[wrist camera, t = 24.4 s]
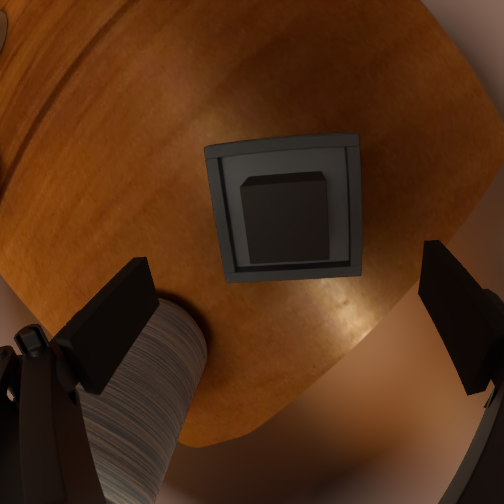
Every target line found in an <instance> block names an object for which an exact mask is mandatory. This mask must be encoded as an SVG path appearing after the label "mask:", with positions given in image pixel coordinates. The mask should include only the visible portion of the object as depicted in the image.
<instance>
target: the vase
mask: <svg viewBox="0 0 504 504" xmlns="http://www.w3.org/2000/svg"><path fill="white" fill-rule="evenodd" d="M158 299H159V302H160V305H159V307H158V308H157V309H156V311H155V312H154V314H153V315H152V317H151V318H150V320H149V321H148V323H147V324H146V326H145V327H144V329H143V330H142V332H141V333H140V335H139V336H138V338H137V339H136V341H135V342H134V344H133V345H132V347H131V348H130V350H129V351H128V353H127V354H126V356H125V357H124V359H123V360H122V362H121V364H120V365H119V367H118V368H117V370H116V371H115V373H114V374H113V376H112V378H111V379H110V381H109V382H108V384H107V385H106V387H105V389H104V390H103V392H102V393H101V395H100V396H99V395H95V394H91V393H87V392H85V390H84V389H83V387H82V386H81V384H80V382H79V383H78V384H77V386H76V387H75V388H76V389H77V391H78V393H79V397H80V403H81V408H82V414H83V418H84V423H85V428H86V432H87V437H88V441H89V445H90V449H91V453H92V457H93V460H94V464H95V468H96V471H97V474H98V478H99V481H100V484H101V487H102V490H103V493H104V496H105V499H106V502H107V504H154V503H155V501H156V498H157V495H158V493H159V490H160V487H161V484H162V482H163V479H164V476H165V473H166V471H167V467H168V465H169V462H170V460H171V457H172V454H173V451H174V449H175V446H176V443H177V440H178V438H179V435H180V432H181V430H182V427H183V424H184V421H185V419H186V416H187V413H188V410H189V408H190V405H191V402H192V400H193V397H194V394H195V391H196V389H197V386H198V383H199V381H200V378H201V375H202V372H203V370H204V367H205V364H206V360H207V345H206V341H205V338H204V336H203V333H202V331H201V329H200V328H199V326H198V325H197V323H196V322H195V320H194V319H193V317H192V316H191V315H190V314H189V313H188V312H187V311H186V310H185V309H184V308H182V307H181V306H179V305H178V304H176V303H174V302H172V301H169V300H166V299H162V298H158Z"/></svg>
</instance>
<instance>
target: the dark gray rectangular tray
mask: <svg viewBox="0 0 504 504" xmlns="http://www.w3.org/2000/svg"><path fill="white" fill-rule="evenodd" d="M204 153H205V159H206V167H207V173H208V180H209V186H210V192H211V198H212V204H213V211H214V217H215V223H216V228H217V234H218V240H219V246H220V252H221V257H222V263H223V268H224V274H225V280H226V283H234V282H259V281H281V280H300V279H319V278H336V277H352V276H361V272H362V266H361V265H362V186H361V164H360V147H359V135H358V134H357V133H353V132H349V133H325V134H308V135H295V136H283V137H272V138H262V139H253V140H244V141H236V142H229V143H221V144H214V145H209V146H206V147H204ZM312 171H322V173H323V175H324V177H325V179H326V185H327V202H328V221H329V248H330V259H329V260H318V261H300V262H282V263H264V264H250V259H249V251H248V244H247V237H246V230H245V223H244V215H243V208H242V201H241V194H240V186H241V185H242V184H243V183H244V181H245V180H246V179H247V178H248V177H251V176H261V175H272V174H284V173H297V172H312Z"/></svg>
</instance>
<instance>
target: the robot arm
mask: <svg viewBox="0 0 504 504" xmlns="http://www.w3.org/2000/svg"><path fill="white" fill-rule="evenodd" d="M418 294H419V296H420V298H421V300H422V302H423V303H424V305H425V307H426V309H427V311H428V313H429V315H430V317H431V318H432V320H433V322H434V324H435V326H436V328H437V330H438V332H439V334H440V336H441V338H442V340H443V342H444V344H445V346H446V349H447V351H448V353H449V355H450V357H451V359H452V361H453V363H454V366H455V368H456V370H457V372H458V375H459V377H460V379H461V382H462V384H463V386H464V388H465V391H466V393H467V395H472V394H475V393H479V392H483V391H485V390H486V388H487V386H488V384H489V382H490V380H492V381H493V383H494V386H495V388H494V389H493V391H492V393H491V395H490V397H489V399H488V401H487V403H486V404H485V406H484V408H486V409H485V412H484V415H483V417H482V420H481V422H480V425H479V427H478V429H477V431H476V434H475V436H474V438H473V440H472V442H471V445H470V447H469V449H468V451H467V453H466V455H465V457H464V459H463V461H462V463H461V465H460V467H459V469H458V470H457V472H456V474H455V476H454V478H453V480H452V481H451V483H450V485H449V487H448V489H447V490H446V492H445V493H444V495H443V497H442V498H441V500H440V502H439V503H438V504H504V303H503V301H502V300H501V299H500V298H499V296H498V295H497V294H495V293H494V292H492V291H490V290H489V289H482V288H481V287H480V285H479V284H478V283H477V282H476V281H475V279H474V278H473V277H472V276H471V275H470V274H469V273H468V271H467V270H466V269H465V268H464V267H463V266H462V265H461V263H460V262H459V261H458V260H457V259H456V258H455V257H454V256H453V255H452V254H451V253H450V251H449V250H448V249H447V248H446V247H445V246H444V245H443V244H442V243H441V242H440V241H439V240H430V241H424V250H423V260H422V268H421V276H420V283H419V291H418ZM159 305H160V302H159V299H158V296H157V293H156V289H155V286H154V282H153V279H152V276H151V272H150V268H149V265H148V261H147V258H146V257H137V258H133V259H132V260H131V261H130V262H128V263H127V264H126V265H125V266H124V267H123V268H122V269H121V270H120V271H119V272H118V273H117V274H116V275H115V276H114V277H113V278H112V279H111V280H110V281H109V282H108V283H107V284H106V285H105V286H104V287H103V288H102V289H101V290H100V291H99V292H98V293H97V294H96V295H95V296H94V297H93V298H92V299H91V300H90V301H89V302H88V303H87V304H86V305H85V306H84V307H83V308H82V309H81V310H80V311H78V312H77V313H76V314H75V315H74V316H73V317H72V318H71V320H69V321H68V322H67V323H66V326H64V327H63V328H62V329H61V330H60V331H59V332H58V333H57V334H56V335H55V336H54V338H53V339H52V340H51V341H50V342H49V341H48V339H47V338H46V336H45V334H44V332H43V330H42V328H41V326H40V325H39V324H31V325H28V326H26V327H24V328H22V329H21V330H20V331H18V333H17V334H16V335H15V337H14V340H15V342H16V344H17V346H18V347H19V349H20V351H21V353H22V354H23V355H16V353H15V351H14V350H13V348H12V347H11V346H3V347H0V504H107V502H106V499H105V496H104V493H103V490H102V487H101V484H100V481H99V478H98V474H97V471H96V468H95V464H94V460H93V457H92V453H91V449H90V445H89V441H88V437H87V432H86V428H85V423H84V418H83V414H82V408H81V403H80V397H79V393H78V391H77V389H76V388H75V387H76V386H77V384H78V383H79V382H80V384H81V386H82V387H83V389H84V390H85V392H87V393H91V394H95V395H99V396H100V395H101V393H102V392H103V390H104V389H105V387H106V385H107V384H108V382H109V381H110V379H111V378H112V376H113V374H114V373H115V371H116V370H117V368H118V367H119V365H120V364H121V362H122V360H123V359H124V357H125V356H126V354H127V353H128V351H129V350H130V348H131V347H132V345H133V344H134V342H135V341H136V339H137V338H138V336H139V335H140V333H141V332H142V330H143V329H144V327H145V326H146V324H147V323H148V321H149V320H150V318H151V317H152V315H153V314H154V312H155V311H156V309H157V308H158V307H159ZM7 390H9V391H10V392H11V394H12V395H13V397H14V398H13V401H11V400H10V399H9V398H8V396H7Z"/></svg>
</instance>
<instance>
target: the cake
mask: <svg viewBox="0 0 504 504" xmlns="http://www.w3.org/2000/svg"><path fill="white" fill-rule="evenodd" d="M6 31H7V18H6V15H5V13H4V12H2V11H0V51H1V49H2V46H3V43H4V40H5V37H6Z"/></svg>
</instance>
